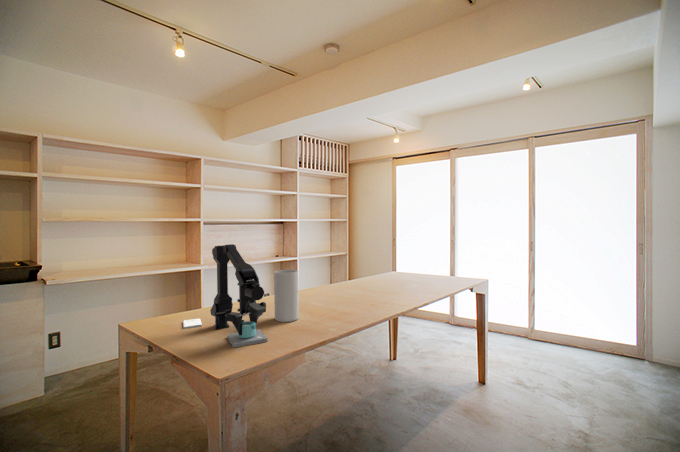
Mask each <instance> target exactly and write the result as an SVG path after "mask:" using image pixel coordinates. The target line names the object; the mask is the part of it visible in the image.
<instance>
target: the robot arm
mask: <svg viewBox="0 0 680 452" xmlns="http://www.w3.org/2000/svg"><path fill="white" fill-rule="evenodd" d="M211 254H212V259H213V260H214V261H215V263H216V280H217V281H216V288H217V290H216V292H217V294H216V295H215V297H214V299H213V304H212V307H211V308H210V316H213V317H214V324H213V328H214V329H215V330H218V329H219V330H220V329H224V328H229V327H230V324H229V323H228V322H230V323H232V324H233V326H234V329H236V333H238V334H239V335H242V323H243V322H245V319H243V317H245V316H248V317H249V321H253V322H255V323H256V324H257V322H258V321H259V320H258V319H259V318H260V317H261V316H263V314H264V313H266V311H267V304H266V302H265V301H261V302H260V303H259V302H257V301H260V300H262V299H263V297H264V295H265V290H264V288H263V287H262V286H260V281H259V280H260V279H259V276H258V274H257V272H256V270H255V268H254V267H253V266H252V265H251V264H250V263H247V262H246V261H245V260H244V258H243V257H242V255H241V254H240V252H239V250H238V249H237V246H236V244H232V243H231V244H224V245H215V246H214V247H213V248H212V250H211ZM229 262H230V263H231V264H232V266H233V267H234V270H235V273H234V275H235V278H236V280H237V286H238V292H239V294H238V295H239V298H238V299H237V300H236V301H237V302H238V303H239V308H237V312H234V311H233V305H234V304H233V298H232V297H231V296H230V295H229V288H228V283H229V280H228V277H229V276H228V274H229V273H228V265H229V264H228V263H229Z"/></svg>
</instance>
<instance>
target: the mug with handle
mask: <svg viewBox="0 0 680 452" xmlns="http://www.w3.org/2000/svg"><path fill="white" fill-rule="evenodd" d="M256 330H257V323H255V322H253V321H250V320H246V321H244V322H243V323H242V335H239V334H238V336H239V337H240V338H249V337H253V336H255V335H256Z"/></svg>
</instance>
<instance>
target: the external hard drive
mask: <svg viewBox="0 0 680 452" xmlns="http://www.w3.org/2000/svg"><path fill="white" fill-rule="evenodd" d="M182 326H183V330H187V329H192V328H193V329H194V328H199V327H200V328H201V327H203V324H202V320H201V318H192V319H191V318H190V319H184V320H182Z"/></svg>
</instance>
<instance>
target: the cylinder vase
mask: <svg viewBox="0 0 680 452" xmlns="http://www.w3.org/2000/svg"><path fill="white" fill-rule="evenodd" d="M273 282H274V283H273V289H274V290H273V293H274V294H273V296H274V298H273V299H274V303H273V304H274V319H275V321H277V322H279V323H280V322H281V323H291V322H295V321H297V320H298V319H300V304H299V301H300V300H299V299H300V298H299V295H300V293H299V290H300V289H299V288H300V287H299V270H298V269H279V270H275V271H273Z"/></svg>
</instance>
